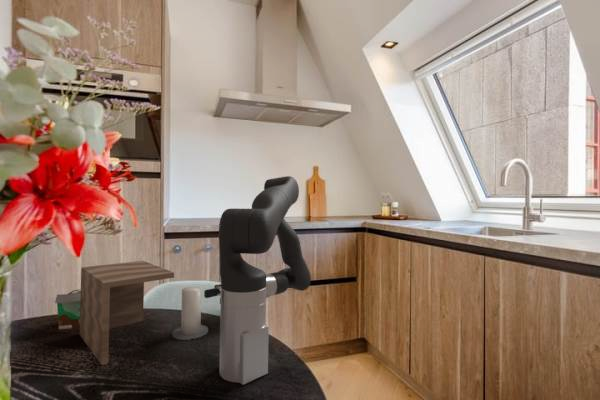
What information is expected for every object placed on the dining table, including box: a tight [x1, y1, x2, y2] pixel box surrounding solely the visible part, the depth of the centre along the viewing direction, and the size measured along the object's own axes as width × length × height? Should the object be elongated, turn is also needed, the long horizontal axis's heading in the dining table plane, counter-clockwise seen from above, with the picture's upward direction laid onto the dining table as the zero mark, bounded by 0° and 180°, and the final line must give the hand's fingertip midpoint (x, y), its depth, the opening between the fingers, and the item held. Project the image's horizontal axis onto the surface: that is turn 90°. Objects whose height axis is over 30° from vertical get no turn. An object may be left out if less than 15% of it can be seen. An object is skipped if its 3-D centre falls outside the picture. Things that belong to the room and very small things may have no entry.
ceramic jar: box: [180, 286, 202, 335], centre depth 83 cm, size 5×5×11 cm
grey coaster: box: [171, 324, 209, 341], centre depth 83 cm, size 9×9×1 cm
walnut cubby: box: [79, 260, 175, 366], centre depth 79 cm, size 21×15×17 cm
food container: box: [54, 288, 81, 333], centre depth 87 cm, size 12×6×10 cm, turn 179°
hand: (212, 297), depth 88 cm, fingers open, 8 cm apart
